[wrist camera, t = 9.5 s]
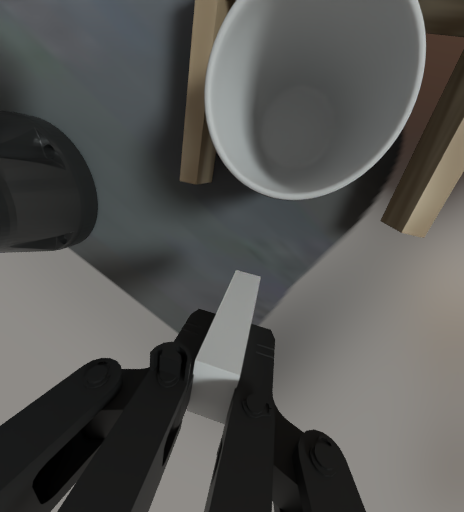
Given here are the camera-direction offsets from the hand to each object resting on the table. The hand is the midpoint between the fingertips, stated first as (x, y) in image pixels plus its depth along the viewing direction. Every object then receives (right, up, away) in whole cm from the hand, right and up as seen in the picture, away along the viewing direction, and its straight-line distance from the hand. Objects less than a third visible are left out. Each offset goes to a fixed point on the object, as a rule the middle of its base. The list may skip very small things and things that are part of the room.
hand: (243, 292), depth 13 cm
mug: (+6, +14, +5) cm, 16 cm away
